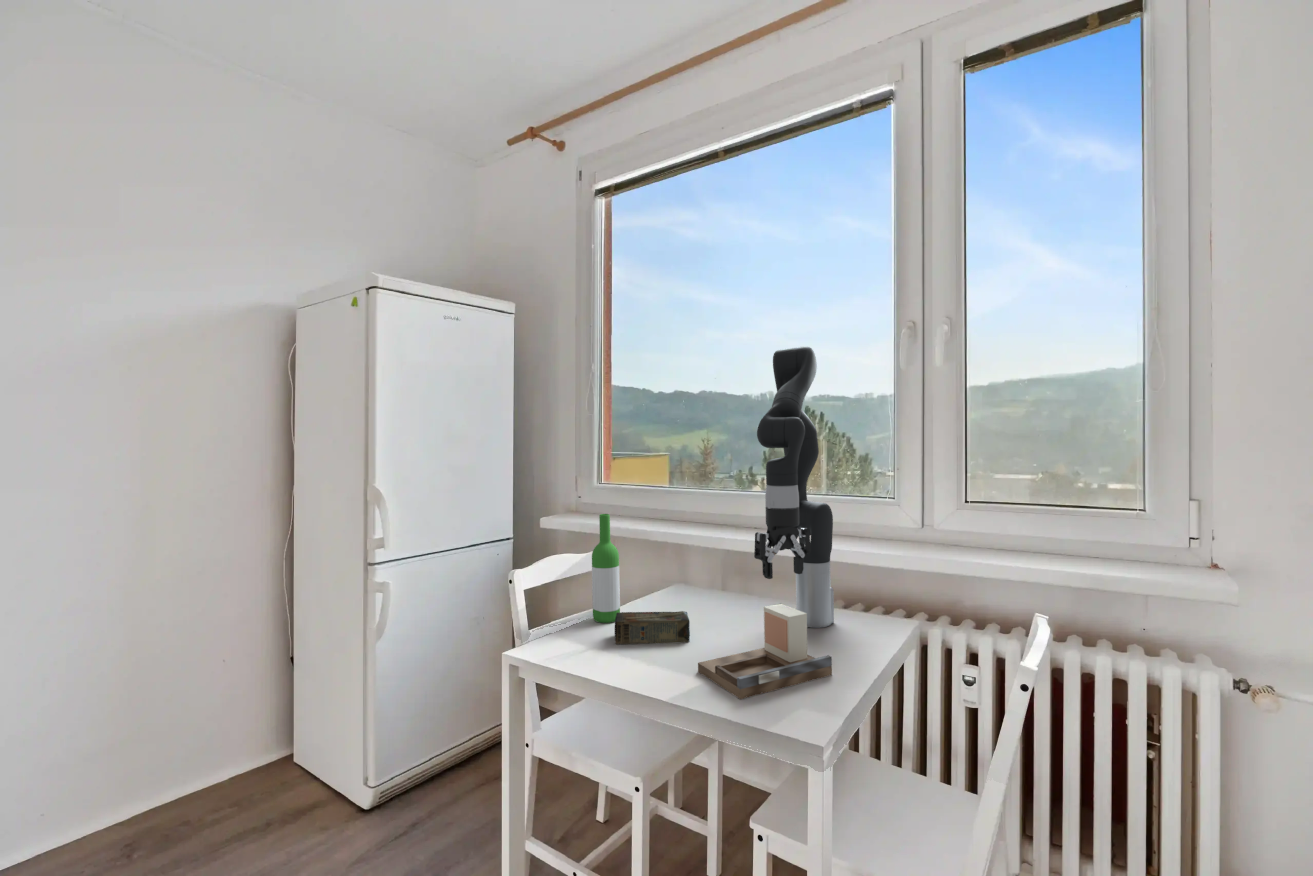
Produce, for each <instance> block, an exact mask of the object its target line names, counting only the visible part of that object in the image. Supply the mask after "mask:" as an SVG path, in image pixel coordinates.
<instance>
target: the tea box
mask: <svg viewBox="0 0 1313 876" xmlns="http://www.w3.org/2000/svg"><path fill="white" fill-rule="evenodd" d="M763 629H764V631H763V636H764V637H763V640H764V645H763V646H764V647H763V648H764V649H765V650H766V651H768V652H770V653H772V654H774V655H776V656H778V657H780V658H782V659H784V660H786V661H788V662H794V661H798V660H802V659H806V658H807V654H808V627H807V613H804V612H802V611H799V610H796V608H795V607H792V606H791V607H790V606H788V605H785V604H784V603H783V604H782V603H778V604H773V605H771V604H770V605H766V606H764V607H763Z"/></svg>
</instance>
